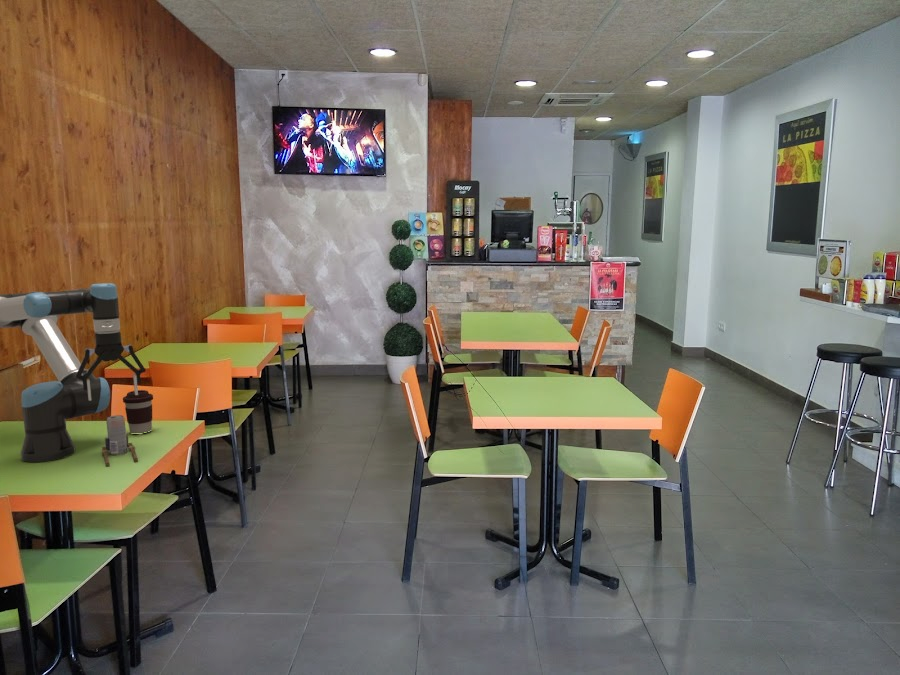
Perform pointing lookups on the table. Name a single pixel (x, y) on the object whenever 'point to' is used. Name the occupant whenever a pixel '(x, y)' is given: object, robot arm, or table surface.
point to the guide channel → (131, 449)
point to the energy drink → (116, 435)
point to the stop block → (108, 443)
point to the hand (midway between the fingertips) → (113, 397)
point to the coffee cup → (139, 411)
